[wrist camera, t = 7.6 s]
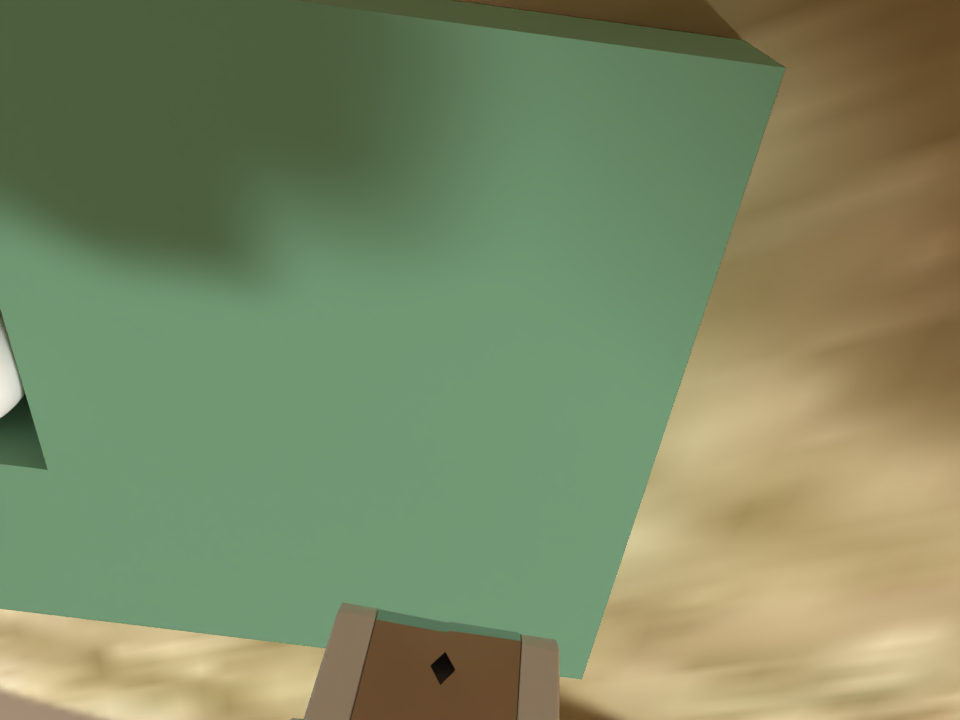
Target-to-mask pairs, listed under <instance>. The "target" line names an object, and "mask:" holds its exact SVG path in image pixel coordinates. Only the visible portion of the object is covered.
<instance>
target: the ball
mask: <svg viewBox="0 0 960 720" xmlns="http://www.w3.org/2000/svg"><path fill="white" fill-rule="evenodd" d="M24 394H25V391H24V387H23V384H22V381H21V377H20V374H19V370H18V367H17V364H16V360H15V357H14V353H13V350H12V347H11V343H10V340H9V336H8V333H7V330H6V326H5V323H4V319H3V316H2V313H1V309H0V418H1V417H3V416H4V415H5V414H7V413H8V412H9V411H10V410H11V409H12V408H13V407H14V406H15V405H16V404H17V403H18V402H19V401H20V400H21V398H22V397H23V396H24Z"/></svg>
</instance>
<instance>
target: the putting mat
mask: <svg viewBox="0 0 960 720" xmlns="http://www.w3.org/2000/svg"><path fill="white" fill-rule="evenodd" d="M785 69H786V68H785V67H784V66H782V65H781V64H779V63H778V62H776V61H774V60H773V59H771V58H770V57H768V56H767V55H765V54H764V53H762V52H761V51H759V50H758V49H756V48H755V47H753V46H752V45H750V44H749V43H747V42H746V41H744V40H739V39H732V38H724V37H717V36H710V35H702V34H695V33H688V32H680V31H673V30H666V29H659V28H651V27H644V26H637V25H629V24H622V23H615V22H607V21H600V20H593V19H585V18H578V17H571V16H563V15H556V14H549V13H542V12H534V11H527V10H520V9H512V8H505V7H498V6H490V5H483V4H476V3H468V2H461V1H454V0H0V309H1V313H2V316H3V319H4V323H5V326H6V330H7V333H8V336H9V340H10V343H11V347H12V350H13V353H14V357H15V360H16V364H17V367H18V370H19V374H20V377H21V381H22V384H23V387H24V391H25V394H26V395H25V394H24V396H23V397H22V398H21V400H20V401H19V402H18V403H17V404H16V405H15V406H14V407H13V408H12V409H11V410H10V411H9V412H8V413H7V414H5V415H4V416H3V417H1V418H0V609H7V610H16V611H24V612H32V613H40V614H48V615H57V616H65V617H73V618H81V619H90V620H98V621H106V622H114V623H122V624H131V625H139V626H147V627H155V628H164V629H172V630H180V631H188V632H196V633H205V634H213V635H221V636H229V637H238V638H246V639H254V640H262V641H271V642H279V643H287V644H295V645H303V646H312V647H320V648H326V646H327V643H328V640H329V637H330V634H331V630H332V627H333V624H334V621H335V618H336V614H337V612H338V610H339V608H340V607H341V605H342V603H343V602H344V603H349V604H355V605H361V606H367V607H372V608H378V609H381V610H386V611H391V612H397V613H402V614H407V615H413V616H418V617H423V618H428V619H434V620H439V621H444V622H456V623H462V624H468V625H475V626H481V627H487V628H494V629H500V630H506V631H512V632H519V633H520V634H523V635H529V636H536V637H542V638H549V639H555V640H556V641H557V644H558V646H559V677H567V678H575V679H582V677H583V674H584V671H585V668H586V665H587V662H588V659H589V656H590V653H591V650H592V647H593V644H594V641H595V638H596V635H597V632H598V629H599V626H600V623H601V620H602V617H603V614H604V611H605V608H606V605H607V602H608V599H609V596H610V593H611V590H612V587H613V584H614V581H615V578H616V575H617V572H618V569H619V566H620V563H621V560H622V557H623V554H624V551H625V548H626V545H627V542H628V539H629V536H630V533H631V530H632V527H633V524H634V521H635V518H636V515H637V512H638V509H639V506H640V503H641V500H642V497H643V494H644V491H645V488H646V485H647V482H648V479H649V476H650V473H651V470H652V467H653V464H654V461H655V458H656V455H657V452H658V449H659V446H660V443H661V440H662V437H663V434H664V431H665V428H666V425H667V422H668V419H669V416H670V413H671V410H672V407H673V404H674V401H675V398H676V395H677V392H678V389H679V386H680V383H681V380H682V377H683V374H684V371H685V368H686V365H687V362H688V359H689V356H690V353H691V350H692V347H693V344H694V341H695V338H696V335H697V332H698V329H699V326H700V323H701V320H702V317H703V314H704V311H705V308H706V305H707V302H708V299H709V296H710V293H711V290H712V287H713V284H714V281H715V278H716V275H717V272H718V269H719V266H720V263H721V260H722V257H723V254H724V251H725V248H726V245H727V242H728V239H729V236H730V233H731V230H732V227H733V224H734V221H735V218H736V215H737V212H738V209H739V206H740V203H741V200H742V197H743V194H744V191H745V188H746V185H747V182H748V179H749V176H750V173H751V170H752V167H753V164H754V161H755V158H756V155H757V152H758V149H759V146H760V143H761V140H762V137H763V134H764V131H765V128H766V125H767V122H768V119H769V116H770V113H771V110H772V107H773V104H774V101H775V98H776V95H777V92H778V89H779V86H780V83H781V80H782V77H783V74H784V72H785Z"/></svg>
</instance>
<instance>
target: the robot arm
mask: <svg viewBox="0 0 960 720" xmlns="http://www.w3.org/2000/svg"><path fill="white" fill-rule="evenodd" d="M291 720H559V646H558V644H557V641H556V640H555V639H549V638H542V637H536V636H529V635H523V634H520V633H519V632H512V631H506V630H500V629H494V628H487V627H481V626H475V625H468V624H462V623H456V622H444V621H439V620H434V619H428V618H423V617H418V616H413V615H407V614H402V613H397V612H391V611H386V610H381V609H378V608H372V607H367V606H361V605H355V604H349V603H344V602H343V603H342V605H341V607H340V608H339V610H338V612H337V614H336V618H335V621H334V624H333V627H332V630H331V634H330V637H329V640H328V643H327V646H326V650H325V653H324V656H323V659H322V662H321V666H320V669H319V672H318V675H317V678H316V682H315V685H314V688H313V691H312V694H311V698H310V701H309V704H308V707H307V710H306V714H305V717H304V719H297V718H292V719H291Z"/></svg>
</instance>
